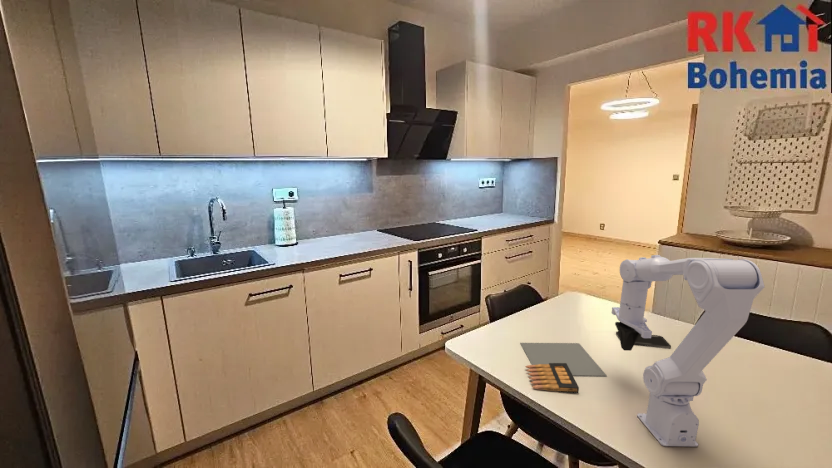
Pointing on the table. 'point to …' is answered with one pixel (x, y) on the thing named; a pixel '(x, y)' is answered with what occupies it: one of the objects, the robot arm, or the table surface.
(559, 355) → the mat
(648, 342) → the phone
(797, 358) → the table surface
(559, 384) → the ammunition clip
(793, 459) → the table surface
